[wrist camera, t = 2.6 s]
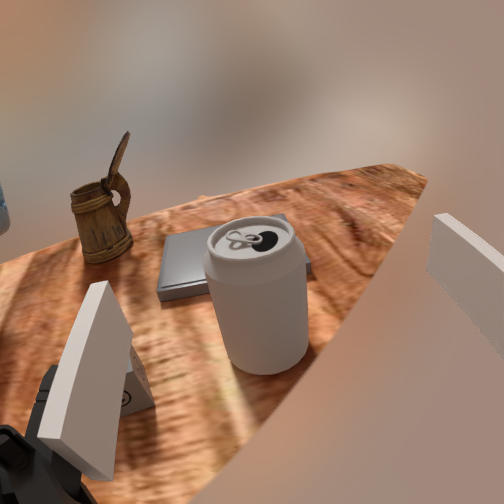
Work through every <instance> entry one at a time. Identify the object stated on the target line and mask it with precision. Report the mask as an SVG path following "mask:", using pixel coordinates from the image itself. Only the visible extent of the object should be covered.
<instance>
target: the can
mask: <svg viewBox="0 0 504 504" xmlns="http://www.w3.org/2000/svg"><path fill="white" fill-rule="evenodd" d="M206 245H207V248H208V250H207V251H206V253H205V254H204V258H203V261H202V265H203V269H204V272H205V276H206V280H207V284H208V287H209V291H210V295H211V298H212V302H213V306H214V309H215V313H216V316H217V320H218V324H219V327H220V331H221V334H222V337H223V341H224V344H225V348H226V351H227V355H228V358H229V359H230V360H231V362H232V363H233V364H234V365H235V366H236V367H238V368H239V369H241V370H243V371H245V372H247V373H252V374H257V375H270V374H276V373H279V372H282V371H285V370H288V369H289V368H291V367H292V366H294V365H295V364H297V363H298V362H299V361H300V360H301V359H302V357H303V356H304V355H305V354H306V351H307V348H308V345H309V330H308V301H307V278H306V259H305V249H304V245H303V243H302V242H301V241H300V240H299V239H298V238H297V237H296V236H295V232H294V228H293V227H292V226H291V225H290V224H289V223H288V222H286V221H284V220H282V219H279V218H274V217H270V216H253V217H245V218H241V219H237V220H233V221H231V222H228V223H226V224H224V225H222V226H220V227H219V228H217V229H216V230H215V231H214V232H213V233H212V234H211V235H210V236H209V237H208V240H207V243H206Z"/></svg>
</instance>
